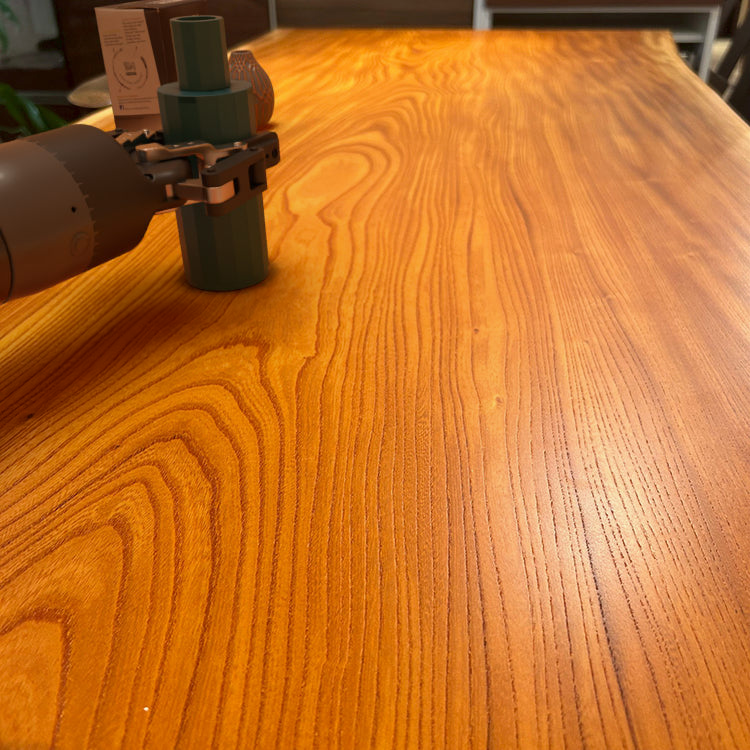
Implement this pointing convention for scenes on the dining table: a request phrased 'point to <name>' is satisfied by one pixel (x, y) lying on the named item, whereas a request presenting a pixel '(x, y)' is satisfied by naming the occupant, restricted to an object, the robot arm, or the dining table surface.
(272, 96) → the vase
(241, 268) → the bottle
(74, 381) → the dining table surface
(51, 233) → the robot arm
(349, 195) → the dining table surface
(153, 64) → the coffee box
